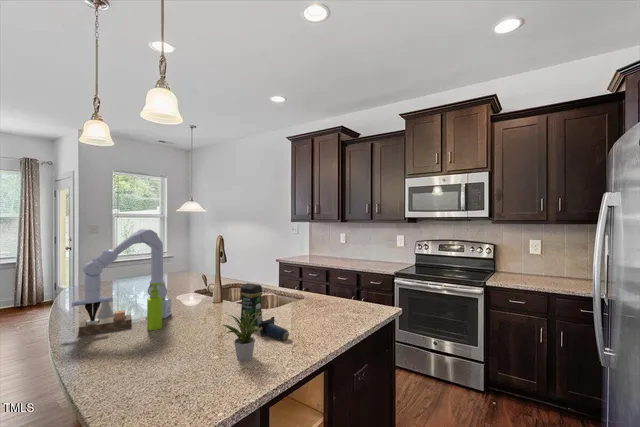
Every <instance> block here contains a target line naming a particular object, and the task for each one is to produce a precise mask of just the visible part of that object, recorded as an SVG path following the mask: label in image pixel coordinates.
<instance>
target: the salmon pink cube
mask: <svg viewBox="0 0 640 427" xmlns="http://www.w3.org/2000/svg"><path fill="white" fill-rule="evenodd" d="M125 315H126V310H125V309H124V310H115V311H114V321H116V320H123V319H125Z"/></svg>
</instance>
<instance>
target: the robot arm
mask: <svg viewBox="0 0 640 427" xmlns="http://www.w3.org/2000/svg"><path fill="white" fill-rule="evenodd" d="M142 243H143V244H146V245H147V246H148V247H149V248H150V250H151V251H150V254H151V255H150V256H151V260H150V261H151V262H150V266H151V267H150V269H151V270H150V272H151V273H150V274H151V275H150V277H151V278H150V281H149V286H148V288H147V294H148V295H149V298H151V291H152V290H153V285H151V284H152V283H162V284H164V285H161V286H159V285H157V290H159V297H162V319H167V318H168V317H169V316H171V315H172V314H173V313H172V300H171V298H169V297H166V296H167V295H168V288H167V287H166V282H165V280H164V244H163V242H162V240H161V239H160V237H159V236H158V233H157V232H155V231H154V230H152V229H144V228H142V229H139V230H137V232H133V233H132V234H131V235H129V236H128V237H127V238H125V239H124V240H122V241H121V243H119V244H118V245H117V246H115V247H114V248H113V249H107V250H105V249H104V250H103V251H102V252H101V254H100V255H98V256H97V257H94V258H92V259H91V260H92V261H89V262H87V263H86V264H85V265H84V267H83V268H82V271H83V273H85V274H84V299H78V300H72V301H71V307H78V306H84V308H85V310H86V311H87V314H88V317H89V320H91V321H95V319H96V314H97V312H98V310H99V308H100V305H101V304H102V303H103V302H110V303H112V302H113V298H114V297H113V296H101V293H102V292H101V290H102V288H101V287H102V286H101V285H102V281H101V280H102V278H101V273H102V272H103V269H106V268H107V267H108V266H109V265H111V264H113V262H116V260H117V259H118V256H119V255H120V254H121V253H123V252H125V251H126V250H127V249H129V248H130V247H132V246H133V245H136V244H142ZM145 319H146V320H147V316H146V317H145Z"/></svg>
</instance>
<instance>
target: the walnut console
mask: <svg viewBox="0 0 640 427" xmlns="http://www.w3.org/2000/svg"><path fill="white" fill-rule="evenodd" d="M132 320H133V319H132V314H131V313H130V314H125V319H123V320H116V321H114V317H109V318H102V319H99V323H96V324H90V325H87V320H83V321H80V323H79V326H78V337H80V336H85V335H91V334H98V333H104V332H106V333H107V332H110V331H111V330H112V331H116V330H117V329H118V330H123V329H129V328H130V329H131V328H132V326H133V324H132V323H133V322H132Z"/></svg>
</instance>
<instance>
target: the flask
mask: <svg viewBox="0 0 640 427" xmlns="http://www.w3.org/2000/svg"><path fill="white" fill-rule="evenodd" d="M114 313H115V311H114V310H113V308H112V306H111V302H103V303H101V307H100V309H99V312H98V313H97V316H96V319H97V318H99V319H102V318H109V317H114Z"/></svg>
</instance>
